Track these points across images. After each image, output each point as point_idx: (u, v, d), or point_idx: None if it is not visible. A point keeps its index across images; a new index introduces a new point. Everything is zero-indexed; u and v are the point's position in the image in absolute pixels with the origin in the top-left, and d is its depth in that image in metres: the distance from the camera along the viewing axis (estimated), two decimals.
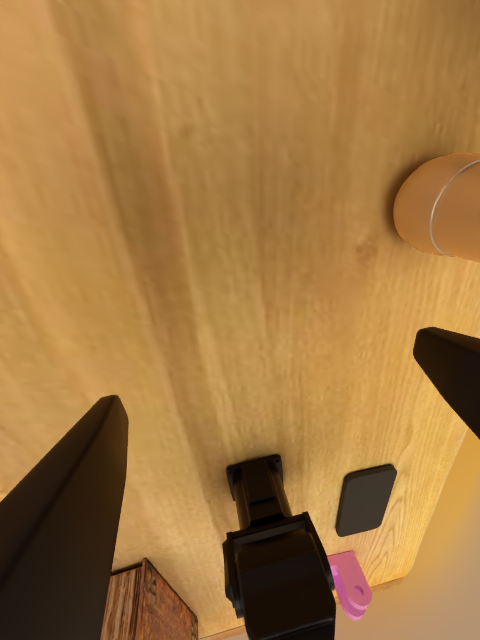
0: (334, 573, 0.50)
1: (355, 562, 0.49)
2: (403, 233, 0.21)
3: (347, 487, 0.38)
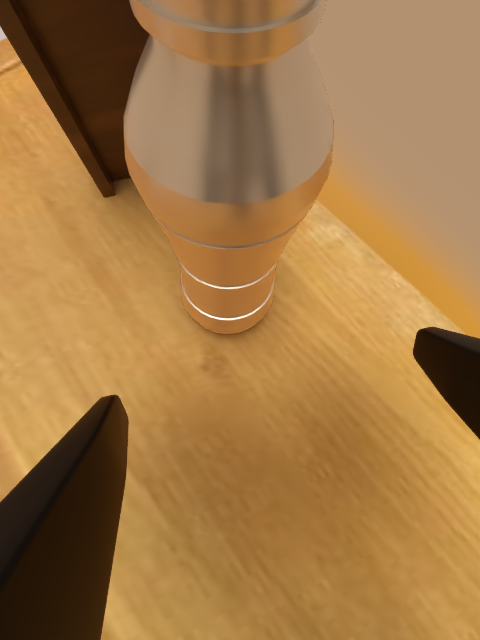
0: None
1: None
2: (210, 329, 0.20)
3: None
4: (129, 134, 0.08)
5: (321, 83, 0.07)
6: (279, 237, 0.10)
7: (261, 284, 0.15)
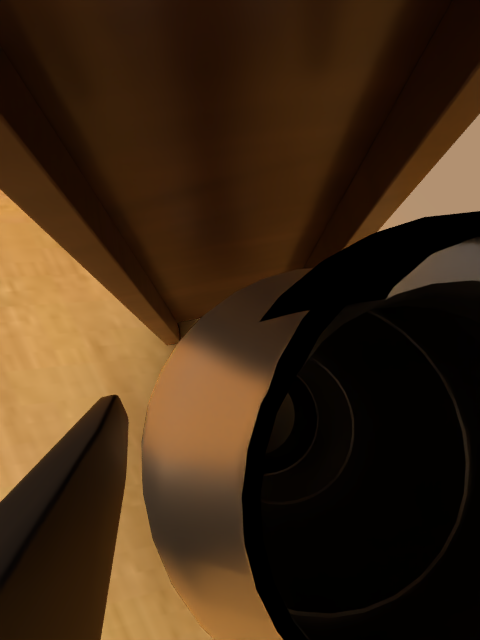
0: None
1: None
2: None
3: None
4: (156, 533, 0.04)
5: None
6: None
7: None
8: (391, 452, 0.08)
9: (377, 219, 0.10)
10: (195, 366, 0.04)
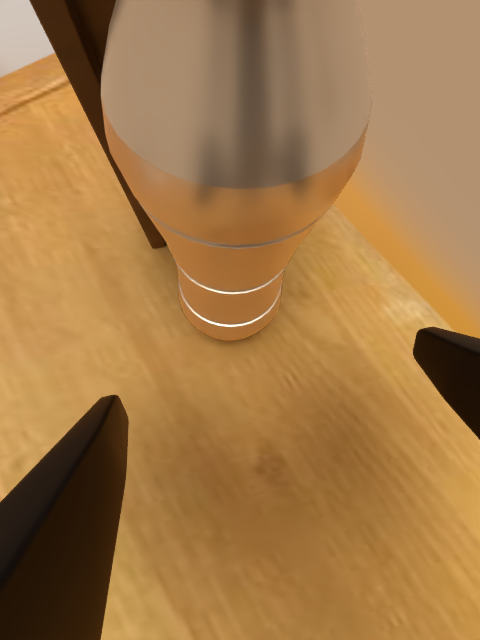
0: None
1: None
2: (210, 336, 0.18)
3: None
4: (107, 97, 0.06)
5: (362, 27, 0.05)
6: (297, 234, 0.08)
7: (269, 288, 0.13)
8: None
9: None
10: None
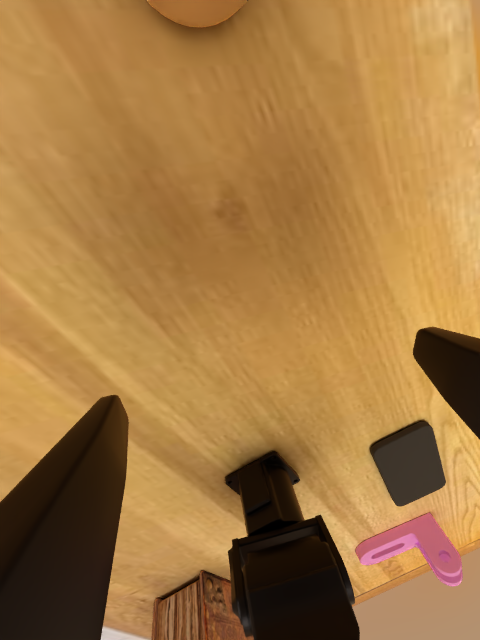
0: (416, 540, 0.45)
1: (434, 525, 0.43)
2: (160, 8, 0.12)
3: (376, 459, 0.33)
4: None
5: None
6: None
7: None
8: None
9: None
10: None
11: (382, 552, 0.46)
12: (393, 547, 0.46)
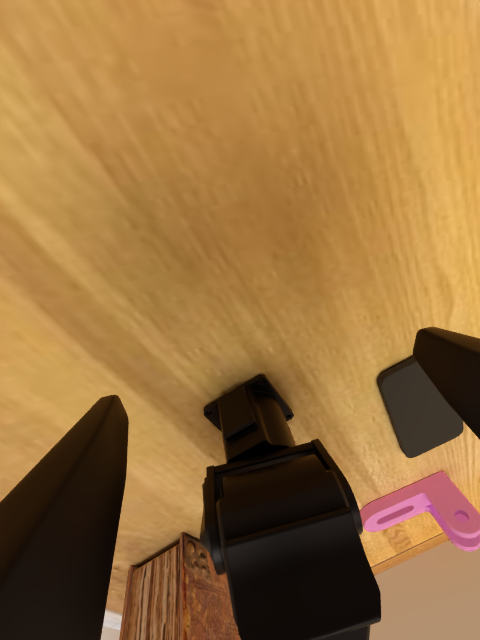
0: (427, 502, 0.40)
1: (449, 483, 0.38)
2: None
3: (384, 392, 0.28)
4: None
5: None
6: None
7: None
8: None
9: None
10: None
11: (389, 517, 0.41)
12: (401, 511, 0.41)
